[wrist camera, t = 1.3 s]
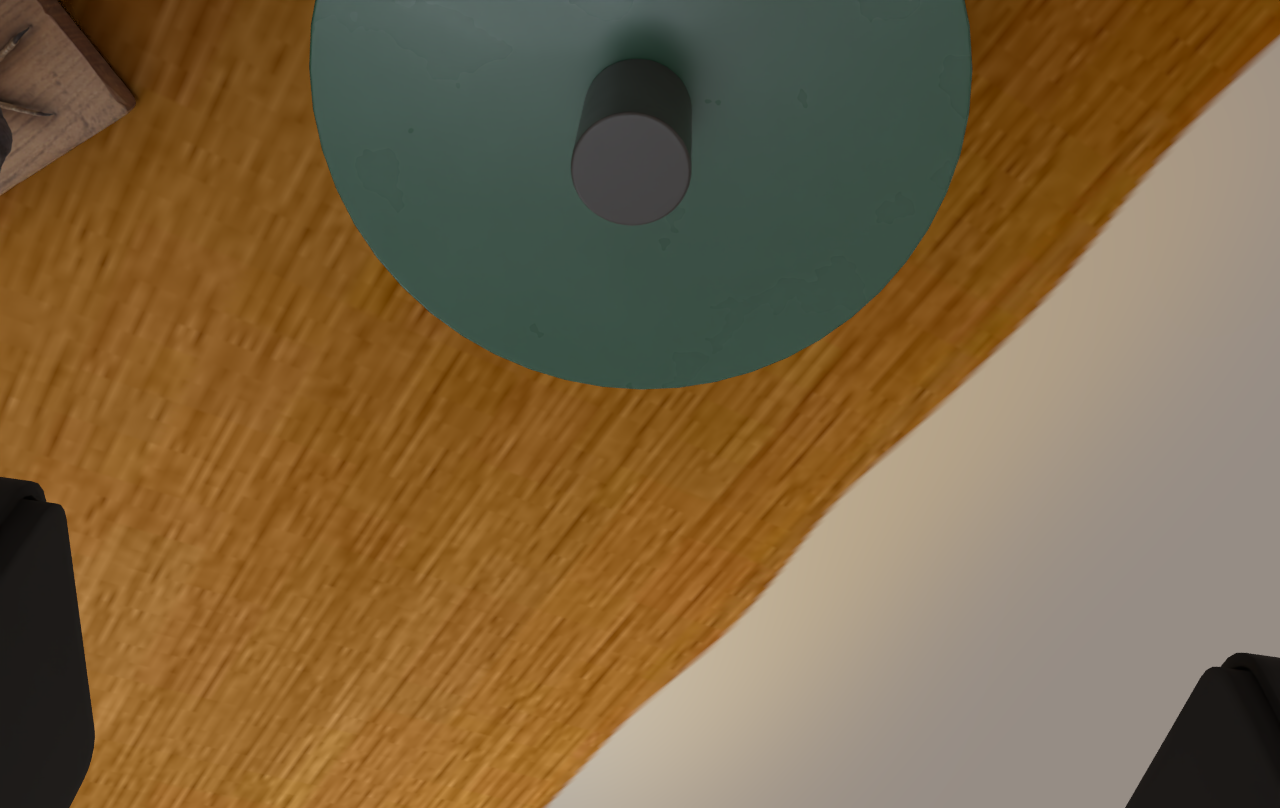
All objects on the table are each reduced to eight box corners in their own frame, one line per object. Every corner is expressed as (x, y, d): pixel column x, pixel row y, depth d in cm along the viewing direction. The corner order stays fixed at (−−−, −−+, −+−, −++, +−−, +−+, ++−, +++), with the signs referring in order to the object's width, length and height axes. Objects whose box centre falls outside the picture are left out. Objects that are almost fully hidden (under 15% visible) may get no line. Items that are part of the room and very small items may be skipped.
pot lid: (314, -317, 24) (240, -304, 20) (1047, -212, 24) (1113, -179, 21) (326, 330, 32) (275, 429, 28) (880, 399, 32) (905, 506, 28)
